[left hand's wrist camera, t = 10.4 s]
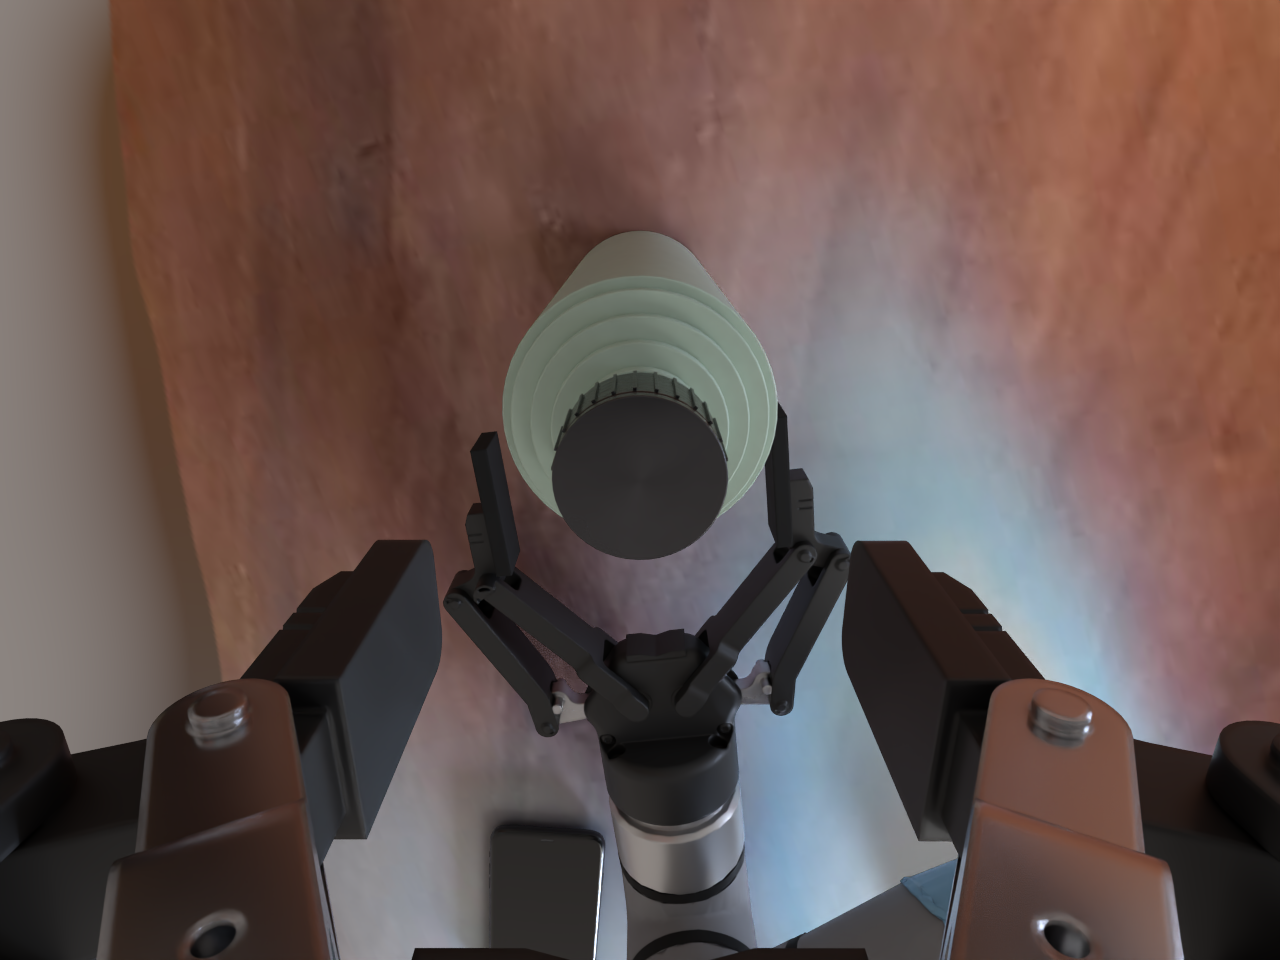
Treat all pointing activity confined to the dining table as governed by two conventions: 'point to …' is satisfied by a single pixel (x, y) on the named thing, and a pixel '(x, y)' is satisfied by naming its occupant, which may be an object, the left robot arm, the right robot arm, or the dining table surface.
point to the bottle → (639, 354)
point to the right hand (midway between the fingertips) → (627, 423)
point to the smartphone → (546, 890)
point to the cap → (639, 467)
